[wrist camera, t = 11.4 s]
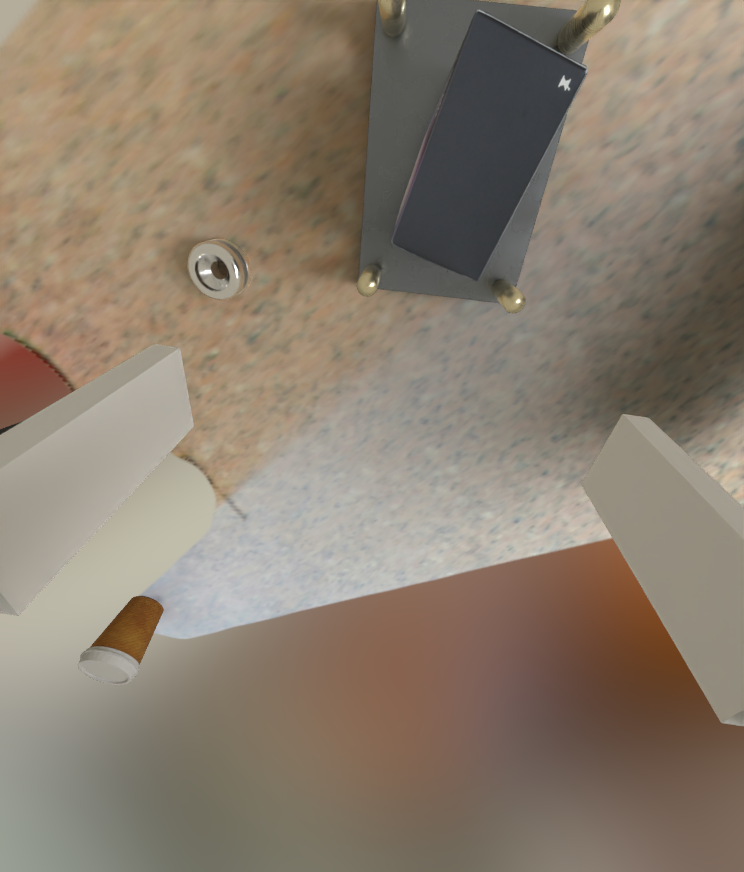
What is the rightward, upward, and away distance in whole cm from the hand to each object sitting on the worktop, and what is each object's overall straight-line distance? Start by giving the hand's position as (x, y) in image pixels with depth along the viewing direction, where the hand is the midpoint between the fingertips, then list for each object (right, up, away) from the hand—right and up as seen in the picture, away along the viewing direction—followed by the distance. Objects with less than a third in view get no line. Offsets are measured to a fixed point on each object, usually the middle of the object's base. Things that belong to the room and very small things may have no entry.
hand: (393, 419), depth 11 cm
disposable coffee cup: (-44, -33, +60) cm, 81 cm away
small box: (+6, +20, +17) cm, 27 cm away
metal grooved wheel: (-15, +16, +24) cm, 32 cm away
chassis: (+6, +21, +18) cm, 28 cm away
